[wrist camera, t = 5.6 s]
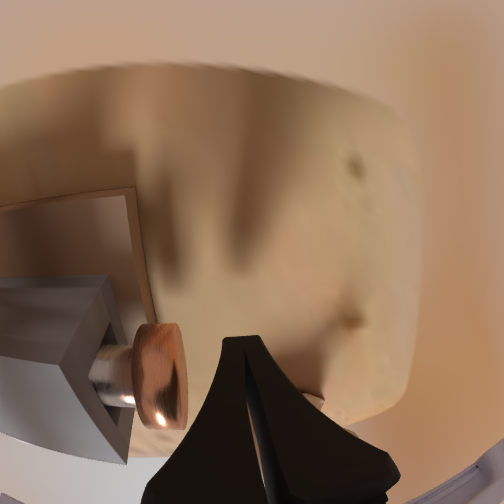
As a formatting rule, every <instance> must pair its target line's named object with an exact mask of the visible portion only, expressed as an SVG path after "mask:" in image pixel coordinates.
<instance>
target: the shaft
mask: <svg viewBox="0 0 504 504" xmlns="http://www.w3.org/2000/svg"><path fill="white" fill-rule="evenodd" d="M88 379H89V381H90V383H91V384H92V386H93V388H94V390H95V392H96V394H97V395H98V397H99V399H100V401H101V402H102V404H103V405H108V406H119V407H132V408H137V411H138V414H139V417H140V419H141V421H142V423H143V424H144V426H145V427H146V428H148V429H156V430H184V429H185V428H186V425H187V419H188V382H187V369H186V360H185V352H184V346H183V340H182V335H181V332H180V329H179V326H178V324H177V323H156V324H142V325H140V326H139V328H138V330H137V332H136V335H135V338H134V342H133V345H107V344H100V347H99V349H98V352H97V354H96V357H95V359H94V362H93V364H92V367H91V370H90V372H89V375H88Z"/></svg>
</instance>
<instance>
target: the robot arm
mask: <svg viewBox="0 0 504 504" xmlns="http://www.w3.org/2000/svg"><path fill="white" fill-rule="evenodd" d="M246 400H247V401H246ZM247 404H248V407H247ZM248 408H249V412H250V416H251V420H252V424H253V428H254V432H255V435H256V439H257V443H258V448H259V453H260V460H261V466H262V472H263V479H264V483H263V479H262V475H261V470H260V466H259V462H258V457H257V453H256V448H255V443H254V438H253V433H252V428H251V423H250V418H249V412H248ZM400 476H401V475H400V472H399V470H398V468H397V466H396V465H395V463H394V461H393V460H392V459H391V457H390V455H389V454H388V453H387V452H385V451H383V450H380V449H378V448H376V447H374V446H372V445H370V444H368V443H367V442H365V441H363V440H361V439H359V438H358V437H356V436H354V435H353V434H351V433H349V432H348V431H346V430H345V429H344V428H342V427H341V426H339V425H338V424H337V423H335V422H334V421H332V420H331V419H330V418H328V417H327V416H326V415H325V414H323V413H322V412H321V411H320V410H319V409H317V408H316V407H315V406H314V405H313V404H312V403H311V402H310V401H309V400H308V399H307V398H306V397H305V396H304V395H303V394H302V393H301V392H300V391H299V390H298V389H297V388H296V387H295V386H294V385H293V384H292V382H291V381H290V380H289V379H288V378H287V376H286V375H285V374H284V373H283V371H282V370H281V369H280V367H279V366H278V365H277V363H276V362H275V360H274V359H273V358H272V356H271V355H270V353H269V351H268V350H267V348H266V346H265V345H264V343H263V341H262V339H261V337H260V336H258V335H251V336H238V337H225V338H224V339H223V340H222V351H221V356H220V360H219V364H218V367H217V370H216V373H215V376H214V379H213V382H212V385H211V387H210V390H209V392H208V394H207V397H206V399H205V401H204V403H203V406H202V408H201V410H200V412H199V413H198V415H197V417H196V419H195V421H194V423H193V424H192V426H191V428H190V429H189V431H188V433H187V434H186V436H185V437H184V439H183V440H182V442H181V443H180V444H179V446H178V447H177V449H176V450H175V451H174V453H173V454H172V455H171V457H170V458H169V459H168V460H167V462H166V463H165V464H164V465H163V467H161V469H160V470H159V471H158V472H157V473H156V474H155V475H154V476H153V477H152V478H151V480H150V481H149V482H148V483H147V485H146V487H145V490H144V493H143V496H142V499H141V504H386V502H387V501H388V497H387V495H386V493H385V492H386V491H388V490H389V489H390V488H391V487H392V486H394V485H395V484H396V483H397V482H398V481H399V479H400ZM264 484H265V487H264ZM502 500H504V438H503V439H501V440H500V441H499V442H498V443H496V444H495V445H494V446H493V447H491V448H490V449H489V450H488V451H486V452H485V453H484V454H483V455H482V456H481V457H480V458H479V459H477V461H476V462H475V463H473V464H472V465H470V466H469V467H467V468H466V469H464V470H463V471H461V472H460V473H458V474H457V475H455V476H454V477H452V478H450V479H449V480H447V481H445V482H444V483H442V484H440V485H439V486H437V487H435V488H433V489H431V490H430V491H428V492H426V493H424V494H422V495H420V496H418V497H416V498H414V499H412V500H410V501H408V502H406V503H404V504H499V503H501V502H502ZM0 504H24V503H22V502H20V501H18V500H16V499H14V498H12V497H10V496H8V495H6V494H4V493H1V496H0Z"/></svg>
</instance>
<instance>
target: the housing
mask: <svg viewBox="0 0 504 504" xmlns="http://www.w3.org/2000/svg"><path fill="white" fill-rule="evenodd" d="M156 323H157V321H156V316H155V311H154V307H153V302H152V297H151V292H150V286H149V281H148V275H147V270H146V264H145V257H144V251H143V244H142V237H141V230H140V222H139V214H138V205H137V195H136V187H130V188H120V189H111V190H102V191H94V192H87V193H79V194H72V195H65V196H59V197H52V198H46V199H40V200H34V201H29V202H23V203H18V204H13V205H8V206H3V207H0V432H1V433H4V434H6V435H9V436H11V437H14V438H16V439H19V440H22V441H25V442H28V443H31V444H34V445H37V446H40V447H43V448H47V449H50V450H54V451H57V452H61V453H65V454H69V455H73V456H78V457H82V458H87V459H92V460H97V461H103V462H109V463H116V464H123V465H127V459H128V451H129V443H130V437H131V430H132V424H133V417H134V411H137V408H132V407H119V406H108V405H103V404H102V402H101V401H100V399H99V397H98V395H97V394H96V392H95V390H94V388H93V386H92V384H91V383H90V381H89V379H88V375H89V372H90V370H91V367H92V364H93V362H94V359H95V357H96V354H97V352H98V349H99V347H100V344H107V345H133V342H134V338H135V335H136V332H137V330H138V328H139V326H140V325H142V324H156Z"/></svg>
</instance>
